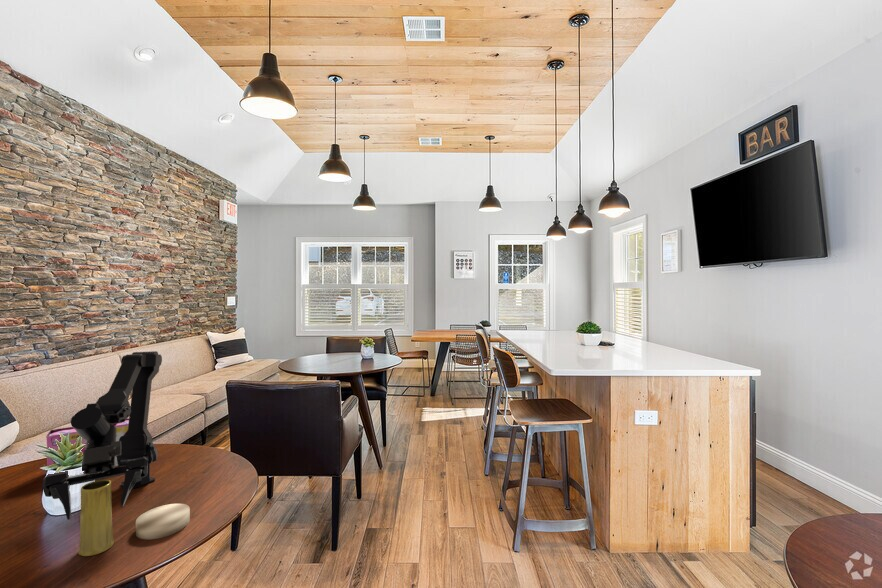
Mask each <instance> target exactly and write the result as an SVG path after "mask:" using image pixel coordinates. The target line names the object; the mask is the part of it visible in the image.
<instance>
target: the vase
mask: <svg viewBox="0 0 882 588" xmlns="http://www.w3.org/2000/svg"><path fill="white" fill-rule="evenodd" d="M112 511H113V508H112V480H110V479H100V480H95V481H90V482H87V483H86V484H84V485H83V486H81V487H80V518H79V520H80V521H79V545H78V546H79V547H78V548H79V549H78V555H79V556H81V557H92V556H96V555H99V554H101V553H104V552H107V550H109V549H111V547H113V545H114V543H115V541H114V532H113V530H114V529H113V514H112V513H113V512H112Z"/></svg>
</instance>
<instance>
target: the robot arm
mask: <svg viewBox="0 0 882 588" xmlns="http://www.w3.org/2000/svg"><path fill="white" fill-rule="evenodd" d="M162 362H163V357H162V355H161V354H159V352H158V351H156V350H155V351H154V350H153V351H152V350H151V351H133V352H132V353H131V354H130V353H129V354H125V355H123V356H122V358H121V361H120V363H121V364H120V366H119V368H118V371H117V373H116V375H115V377H114V378H113V382H112V383H111V385H110V388H109V390H108V391H107V392H106V393H104V394H103V395H102V396H100V397H98V398H97V400H96V402H95V403H94V402H93V403H87V404H86V406H85V407H84V408H82V409H80V410H78V411H77V412H76V413H75V414H74V415H73V416H72V417H71V419H70V426H71V427H73V428H74V429H75V430H76V431H77V433H78V434H79V435H80V436H81V437H82V438H83V439H85V440H87V442H86V450H83V460H82V471H84V472H83V473H80V474H75V475H70V476H69V475H68V471H65V472H59V473H54V474H48V475H47V474H46V476H45V477H44V478H43V479H42V484H41V485H42V486H41V488H42V490H43V494H44V497H45V498H49V497H51V498H52V499H54V500H58V499H59V501H60V502H61V504H62V506H63V509H64V512H65V515H66V519H67V520H68V521H70V520H71V516H72V505H71V504H72V502H71V501H72V500H71V491H70V486H73V485H78V484H84V483H90V482H93V481H98V480H106V479H109V478H114V477H119V476H124V481H122V482H120V486H122V493H121V498H120V507H121V508H124V505H125V503H126V501H127V499H128V498H129V494H130V493H131V490H132V489H136V488H138V487H141V486H144V485H146V484H149V483H152V482H155V481H156V478H155V477H152V476H151V470H150V469H151V465H150V464H152V463H153V462H156V461H157V460H158V449H157V448H156V445H155V444H154V443H153V436H152V434H151V433H150V431H149V429H148V422H149V421H148V420H149V412H150V402H151V401H150V400H151V391H152V383H153V380H154V378H155V377H156V375H157V374H158V373H159V372H160V368H161V367H160V366H161V365H162V364H163V363H162ZM130 395H131V398H130V399H131V400H130V402H129V397H130ZM127 418H129V424H128V430H127V432H126V433H125V434H124V435H123V436H121V437H120V439H119V441H116V437H117V435H116V431H117V429H116V427H115V426H113V425H110V424H117V423H122V422H125V421H126V419H127ZM88 443H89V444H88ZM115 456H116V457H117V462H118V466H115Z"/></svg>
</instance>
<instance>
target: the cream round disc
mask: <svg viewBox="0 0 882 588" xmlns="http://www.w3.org/2000/svg"><path fill="white" fill-rule="evenodd" d="M190 510H191V508H190V506H189V505H187V504H186V503H170V504H169V503H168V504H165V505H160V506H157V507H154V508H152V509H149V510H147V511H146V512H144V513H141V514H140V515H139V516H138V517H137V518H136V520H135V536H136V537H137V538H138V539H141V540H156V539H162V538H166V537H168V536H171V535H173V534H176V533H177V532H179V531H181V530H184V528H186V527H187V526H188V525H189V523H190V521H191V520H190V519H191V518H190V517H191V515H190V514H191V513H190V512H191V511H190Z"/></svg>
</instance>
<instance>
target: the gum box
mask: <svg viewBox="0 0 882 588" xmlns="http://www.w3.org/2000/svg"><path fill="white" fill-rule="evenodd" d="M128 424H129V417H128V418H127V419H126V421H125V422H122V423H117V424H110V425H113V426H115V427H116V429H117V431H116V435H117V437H116V441H119V439H120V437H121V436H123V435H124V434H125V433H126V432H127V430H128ZM60 433H61V434H63V435H64V436H67V435H68V433H70V442H71V444H74V443H75V442H76V440H77V438H78V437H79V436H80V435H79V434H78V433H77V431H76V430H75V429H74V428H73V427H72V426H70V427H69V426H67V427H61V428H55V429H50V430H49V432H48V433H47V435H46V436H45V437H46V449H47V448H49V447H50V448H53V449H55V450H56V451H57V450H58V446H57V444H56V441H55V439H57V440H58V441H59V442H61V437H60V435H59V434H60ZM86 442H87V440H85V439H83V438H82V444H86ZM83 450H86V446H85V447H84V448H83V449H82V450H81V451H82V452H83ZM53 463H54V462H53V461H52V460H51V459H50V458H48V457H47V456H46V467H47V466H49V465H51V464H53ZM115 467H118V462H117V457H116V456H115Z"/></svg>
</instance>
